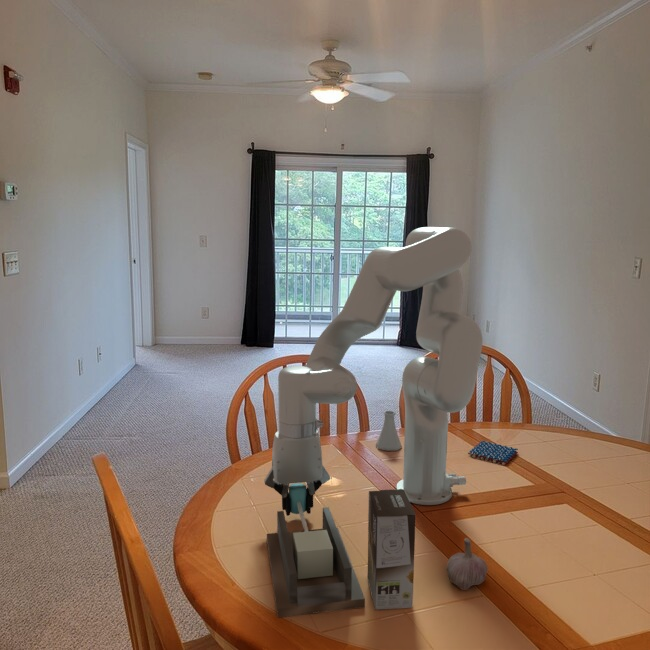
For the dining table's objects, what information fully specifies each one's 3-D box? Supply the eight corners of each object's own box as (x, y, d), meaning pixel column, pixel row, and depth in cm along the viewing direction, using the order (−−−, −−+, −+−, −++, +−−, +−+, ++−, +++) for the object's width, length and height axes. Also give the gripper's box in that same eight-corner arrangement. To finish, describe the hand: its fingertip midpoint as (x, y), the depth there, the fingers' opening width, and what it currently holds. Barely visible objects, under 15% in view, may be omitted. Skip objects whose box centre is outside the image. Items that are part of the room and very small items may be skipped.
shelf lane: (337, 534, 111) (337, 503, 110) (364, 607, 90) (365, 570, 89) (266, 540, 109) (266, 509, 108) (277, 617, 87) (277, 579, 86)
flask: (400, 452, 152) (401, 417, 150) (374, 450, 153) (374, 415, 152) (402, 443, 159) (403, 409, 157) (377, 441, 160) (377, 407, 158)
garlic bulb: (460, 598, 92) (463, 554, 91) (435, 573, 99) (437, 531, 98) (497, 587, 95) (500, 543, 94) (470, 563, 102) (472, 522, 101)
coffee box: (414, 608, 90) (417, 515, 87) (374, 610, 89) (376, 517, 86) (401, 573, 99) (404, 488, 96) (365, 575, 98) (367, 489, 95)
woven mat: (480, 445, 158) (481, 438, 158) (518, 454, 152) (519, 447, 152) (466, 457, 150) (466, 450, 150) (505, 468, 144) (506, 460, 143)
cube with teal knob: (310, 505, 119) (310, 482, 118) (332, 575, 95) (333, 547, 94) (282, 507, 118) (282, 484, 117) (297, 579, 94) (297, 550, 93)
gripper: (333, 419, 119) (333, 499, 122) (254, 423, 116) (256, 506, 119) (341, 431, 112) (340, 516, 115) (257, 436, 109) (258, 524, 112)
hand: (297, 510), depth 117 cm, fingers closed on cube with teal knob, 3 cm apart
